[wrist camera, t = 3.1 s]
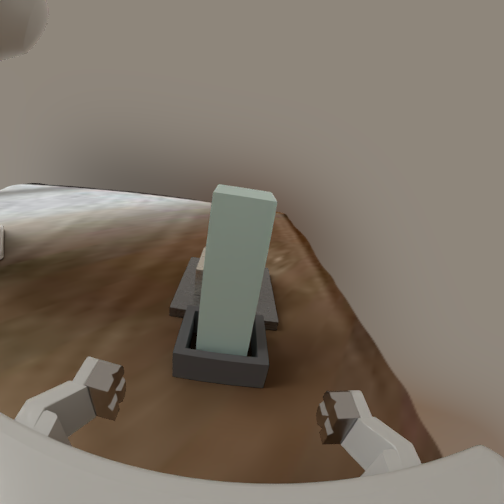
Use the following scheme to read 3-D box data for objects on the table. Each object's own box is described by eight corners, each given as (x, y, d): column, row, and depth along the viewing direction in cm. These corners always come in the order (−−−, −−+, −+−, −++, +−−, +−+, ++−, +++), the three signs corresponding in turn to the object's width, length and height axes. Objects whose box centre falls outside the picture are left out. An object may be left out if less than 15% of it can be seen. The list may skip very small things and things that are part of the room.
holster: (262, 388, 22) (269, 365, 21) (172, 376, 21) (172, 352, 20) (258, 336, 28) (263, 315, 27) (186, 326, 28) (187, 304, 27)
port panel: (276, 330, 30) (284, 296, 28) (169, 315, 29) (171, 280, 28) (266, 274, 43) (271, 248, 42) (190, 263, 42) (193, 237, 41)
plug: (243, 373, 23) (277, 202, 18) (194, 366, 23) (213, 191, 18) (243, 344, 27) (271, 192, 22) (200, 338, 26) (218, 184, 22)
